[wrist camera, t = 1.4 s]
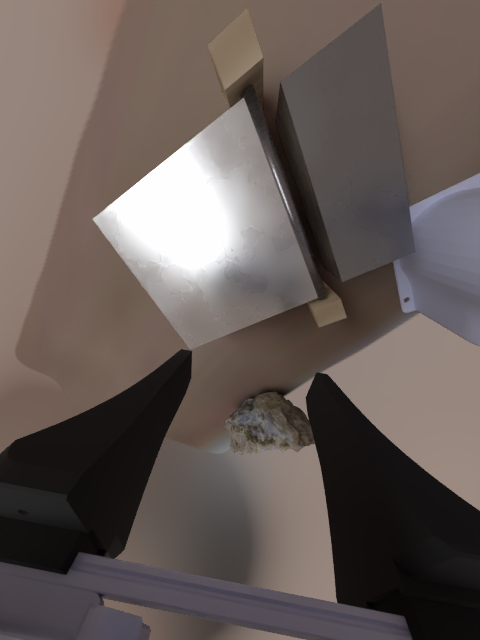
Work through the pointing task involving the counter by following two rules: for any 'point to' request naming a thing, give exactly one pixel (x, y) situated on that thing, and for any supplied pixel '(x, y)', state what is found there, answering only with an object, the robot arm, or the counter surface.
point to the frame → (247, 69)
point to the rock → (268, 425)
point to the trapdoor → (273, 196)
